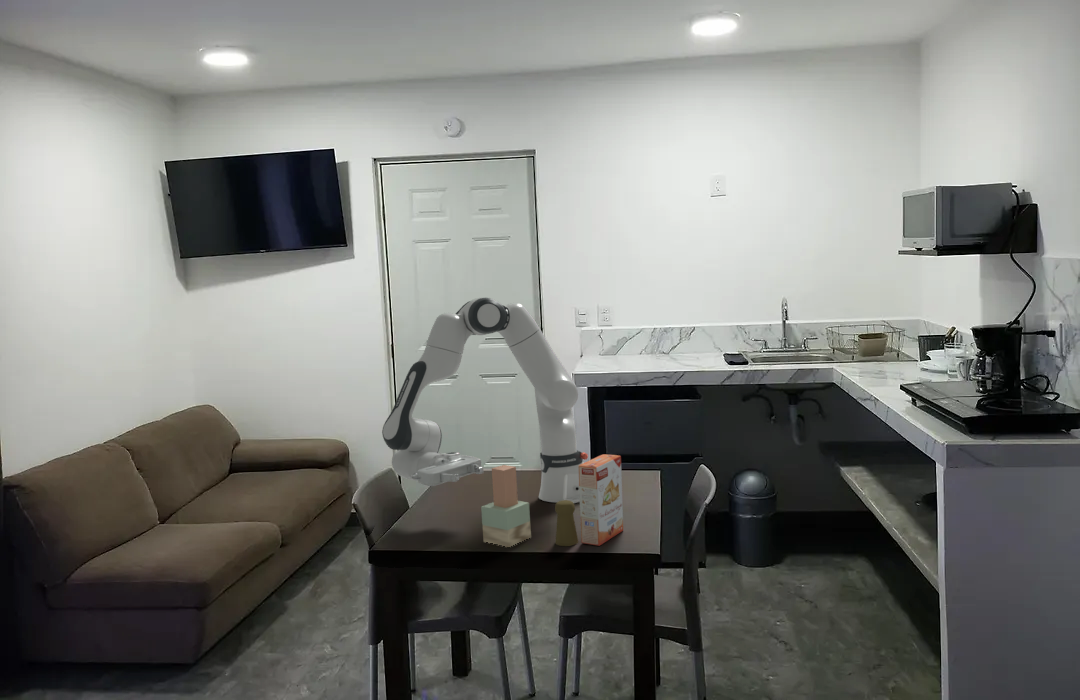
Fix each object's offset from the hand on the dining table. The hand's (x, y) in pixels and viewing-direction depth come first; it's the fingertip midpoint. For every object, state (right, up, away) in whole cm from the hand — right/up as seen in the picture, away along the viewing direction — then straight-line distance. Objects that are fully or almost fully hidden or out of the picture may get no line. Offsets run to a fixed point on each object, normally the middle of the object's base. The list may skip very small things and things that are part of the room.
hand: (469, 474), depth 232 cm
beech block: (+11, -17, -7) cm, 21 cm away
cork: (+26, -16, -12) cm, 33 cm away
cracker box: (+36, -15, -10) cm, 40 cm away
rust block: (+10, -7, -9) cm, 15 cm away
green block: (+10, -12, -8) cm, 18 cm away
